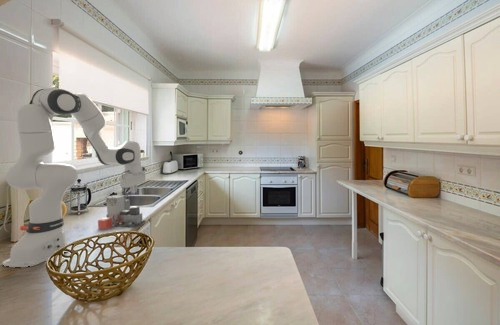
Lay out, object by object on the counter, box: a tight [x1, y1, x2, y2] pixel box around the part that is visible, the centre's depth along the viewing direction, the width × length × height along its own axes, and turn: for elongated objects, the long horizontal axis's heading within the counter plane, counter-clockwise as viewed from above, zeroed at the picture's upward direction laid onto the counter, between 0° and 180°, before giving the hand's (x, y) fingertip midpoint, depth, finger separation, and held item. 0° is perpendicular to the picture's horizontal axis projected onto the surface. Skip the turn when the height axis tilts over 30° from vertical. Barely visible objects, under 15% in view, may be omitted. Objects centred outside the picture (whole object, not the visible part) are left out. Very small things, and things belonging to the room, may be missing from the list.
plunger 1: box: [120, 210, 129, 215], centre depth 151 cm, size 4×4×6 cm
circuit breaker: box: [105, 194, 131, 224], centre depth 160 cm, size 8×14×15 cm, turn 174°
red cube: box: [97, 217, 113, 230], centre depth 144 cm, size 5×5×5 cm
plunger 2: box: [129, 205, 141, 215], centre depth 150 cm, size 4×4×6 cm
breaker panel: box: [113, 212, 146, 228], centre depth 151 cm, size 12×12×6 cm
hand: (133, 192), depth 149 cm, fingers closed
